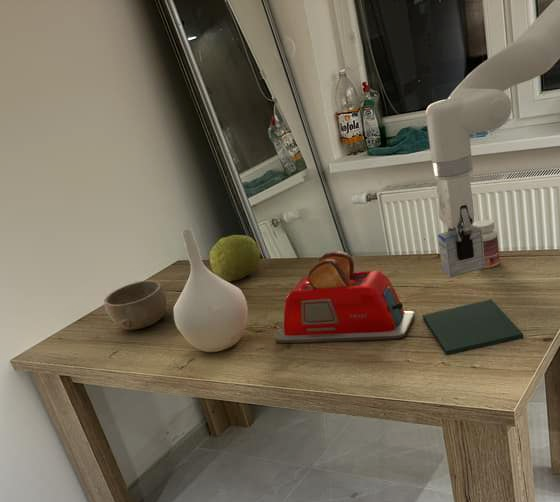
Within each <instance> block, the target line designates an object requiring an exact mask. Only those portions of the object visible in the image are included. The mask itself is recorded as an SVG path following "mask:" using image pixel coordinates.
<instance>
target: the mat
mask: <svg viewBox="0 0 560 502" xmlns="http://www.w3.org/2000/svg"><path fill="white" fill-rule="evenodd" d="M422 319H423V321H424V323H425V324H426V326H427V327H428V329H429V331H430V332H431V333H432V335H433V337H434V338H435V340H436V341H437V343H438V344H439V346H440V348H441V349H442V350H443V353H444V354H445V355H446V356H449V355H453V354H457V353H463V352H466V351H471V350H476V349H480V348H484V347H488V346H494V345H497V344H502V343H506V342H511V341H514V340H519V339H523V338H524V333H523V332H522V330H520V329H519V327H517V325H515V323H514V322H513V321H512V320H511V319H510V318H509V317H508V316H507V315H506V314H505V313H504V312H503V310H502V309H500V307H499V306H498V305H497V304H496V303H495V302H494V300H492V299H486V300H482V301H478V302H474V303H470V304H465V305H460V306H456V307H452V308H447V309H443V310H439V311H435V312H430V313H426V314H422Z"/></svg>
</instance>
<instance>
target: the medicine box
mask: <svg viewBox="0 0 560 502" xmlns="http://www.w3.org/2000/svg"><path fill="white" fill-rule="evenodd" d="M471 226H472V241H473V250H474V257H473V258H469V259H465V260H461V261H460V260H458V256H457V247H456V241H457V235H456V230H451V231H448V230H447V231H445V232H441V233H439V234H437V241H438V248H439V254H440V263H441V264H440V265H441V269H442V270H441V271H442V273H443V274H444V275H445V276H447V277H448V278H449V279H451V278H455V277H458V276H462V275H466V274H469V273H472V272H476V271H480V270H483V269H486V268H485V260H484V248H483V237H482V230H481V229H480V228H478V227H476V226H474V225H473V224H472V225H471ZM461 231H463V228H462V229H460V234H461Z"/></svg>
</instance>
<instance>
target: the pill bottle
mask: <svg viewBox="0 0 560 502" xmlns="http://www.w3.org/2000/svg"><path fill="white" fill-rule="evenodd" d="M472 225H474V226H476V227H478V228H480V229H481V230H482V237H483V248H484V260H485V268H484V269H490V268H494V267H496V266H498V265H499V264H500V261H501V260H500V250H499V238H498V232H497V231H496V230H495V228H496V227H495V221H494V220H492V219H481V220H477V221H474V223H473V224H472Z"/></svg>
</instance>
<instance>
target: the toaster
mask: <svg viewBox="0 0 560 502" xmlns="http://www.w3.org/2000/svg"><path fill="white" fill-rule="evenodd" d="M403 307H404V304H403V303H402V302H401V301H400V299H399V296H398V294H397V292H396V289H395V288H394V286H393V284H392V283H391V281H390V279H389V277H388V276H387V275H385V274H384V273H383V272H382V271H380V270H367V271H365V270H364V271H355V261H354V259H353V258H352V256H351V255H350V254H348V253H346V252H344V251H343V252H342V251H330V252H326V253H324V254H323V255H321V256H320V257H319V258H318V262H316V264H315V265H313V267H312V268H311V269H310V270H309V272H308V274H307V276H303V277H302V278H301V279H300V280H299V281H298V282H297V284H295V286H294V287H293V288H292V290H291V291H290V292H289V293H288V294H287V296H286V297H285V302H284V310H283V327H282V329H281V330H280V332H279V333H277V335H276V336H275V337H274V340H275V342H276V343H279V344H301V343H303V344H306V343H332V342H333V343H334V342H357V341H358V342H360V341H361V342H364V341H387V340H400V339H404V338H405V336H406V335H407V333H408V331H409V329H410V326H411V325H412V322H413V321H414V319H415V316H416V312H415V311H412V310H408V311H407V310H404V309H403Z"/></svg>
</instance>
